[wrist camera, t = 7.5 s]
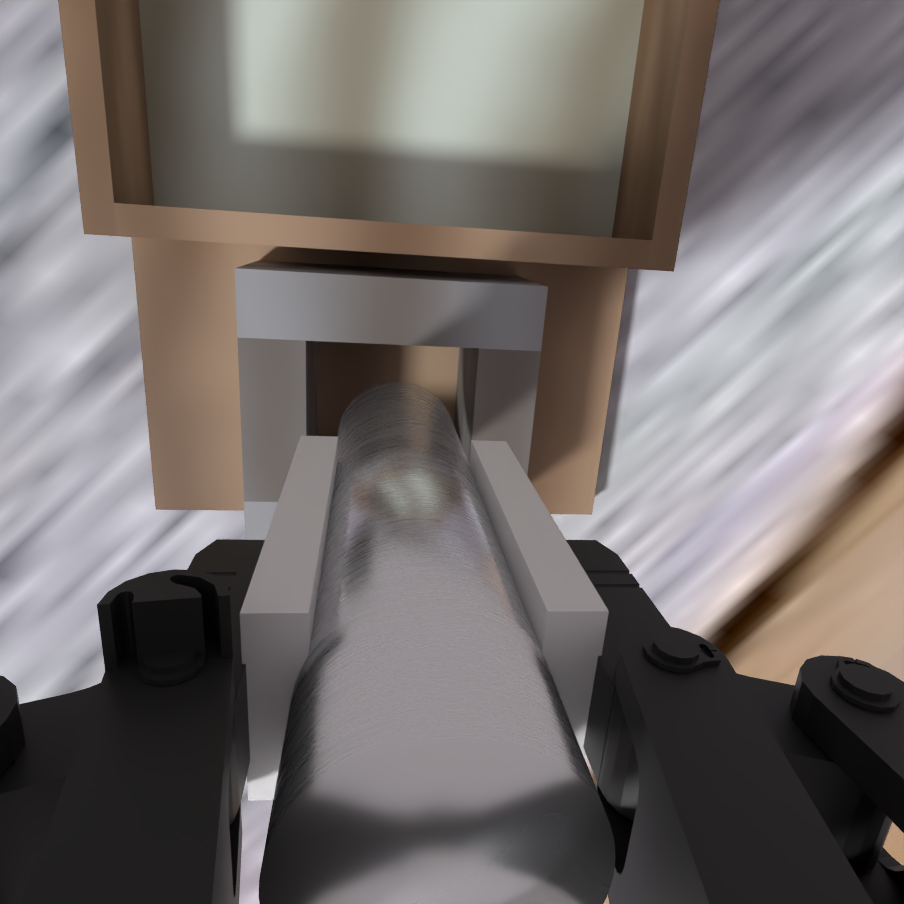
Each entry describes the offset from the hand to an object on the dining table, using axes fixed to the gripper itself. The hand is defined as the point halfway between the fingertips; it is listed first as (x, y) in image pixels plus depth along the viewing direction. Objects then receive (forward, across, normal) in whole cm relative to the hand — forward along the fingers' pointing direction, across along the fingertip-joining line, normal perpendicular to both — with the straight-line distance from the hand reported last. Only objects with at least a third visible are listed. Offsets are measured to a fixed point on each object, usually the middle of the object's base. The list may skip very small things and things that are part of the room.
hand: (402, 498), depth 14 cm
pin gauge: (+4, 0, 0) cm, 4 cm away
